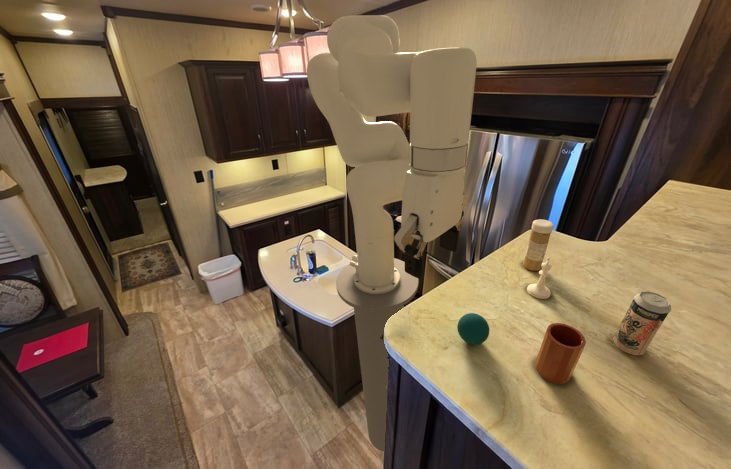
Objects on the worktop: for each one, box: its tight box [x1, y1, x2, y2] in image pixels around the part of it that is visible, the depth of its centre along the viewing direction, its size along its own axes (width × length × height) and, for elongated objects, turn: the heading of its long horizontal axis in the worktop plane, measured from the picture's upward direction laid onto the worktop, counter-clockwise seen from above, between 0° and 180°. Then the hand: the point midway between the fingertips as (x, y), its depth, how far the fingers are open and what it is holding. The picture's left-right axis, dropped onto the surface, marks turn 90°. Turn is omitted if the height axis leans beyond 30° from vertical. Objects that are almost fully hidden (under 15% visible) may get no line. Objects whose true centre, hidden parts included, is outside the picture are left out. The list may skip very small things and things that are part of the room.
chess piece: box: [526, 256, 552, 300], centre depth 67 cm, size 5×5×10 cm
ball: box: [457, 312, 490, 346], centre depth 57 cm, size 6×6×6 cm
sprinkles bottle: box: [522, 218, 554, 272], centre depth 75 cm, size 5×5×13 cm
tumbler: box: [534, 322, 587, 385], centre depth 50 cm, size 5×5×9 cm
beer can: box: [612, 290, 672, 356], centre depth 52 cm, size 5×5×12 cm
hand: (432, 261), depth 47 cm, fingers open, 9 cm apart
